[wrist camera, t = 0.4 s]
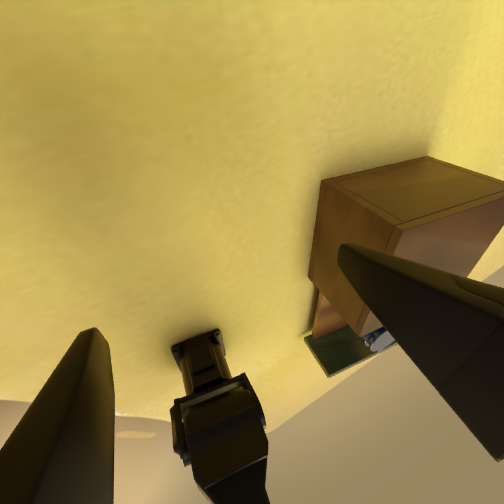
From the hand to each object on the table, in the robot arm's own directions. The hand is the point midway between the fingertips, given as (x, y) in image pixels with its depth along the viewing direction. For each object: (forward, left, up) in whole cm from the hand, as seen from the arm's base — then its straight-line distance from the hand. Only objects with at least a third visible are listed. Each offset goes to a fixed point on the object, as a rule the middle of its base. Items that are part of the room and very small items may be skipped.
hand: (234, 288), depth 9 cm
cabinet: (-11, -22, -14) cm, 28 cm away
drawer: (-28, -22, -13) cm, 38 cm away
